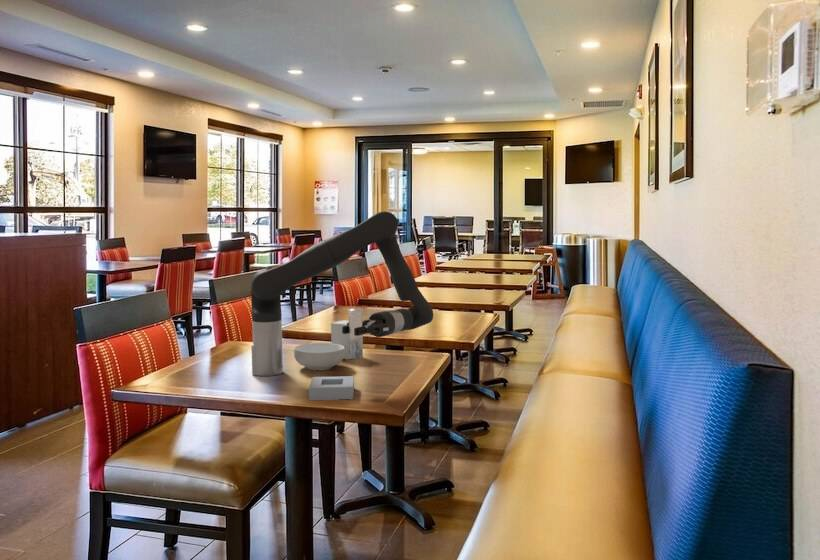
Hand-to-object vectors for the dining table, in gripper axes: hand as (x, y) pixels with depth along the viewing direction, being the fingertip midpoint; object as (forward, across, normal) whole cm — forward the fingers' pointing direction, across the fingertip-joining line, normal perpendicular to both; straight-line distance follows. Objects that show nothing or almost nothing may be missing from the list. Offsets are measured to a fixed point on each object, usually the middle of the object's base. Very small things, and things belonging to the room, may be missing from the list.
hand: (349, 331), depth 186 cm
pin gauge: (-3, 0, +8) cm, 8 cm away
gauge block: (+5, -2, +18) cm, 18 cm away
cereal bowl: (-16, -28, +18) cm, 37 cm away
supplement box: (-33, -32, +18) cm, 49 cm away
